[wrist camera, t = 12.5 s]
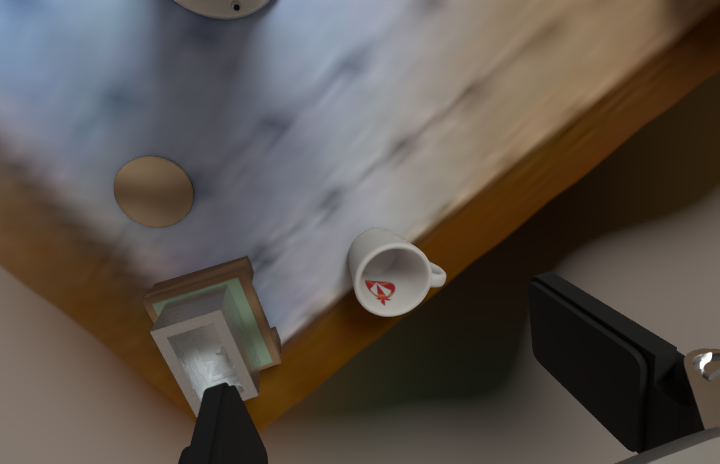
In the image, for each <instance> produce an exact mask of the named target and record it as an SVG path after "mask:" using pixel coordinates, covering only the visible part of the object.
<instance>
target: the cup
mask: <svg viewBox="0 0 720 464" xmlns="http://www.w3.org/2000/svg"><path fill="white" fill-rule="evenodd" d="M349 266H350V271H351V276H352V282H353V287H354V291H355V295H356V297H357V299H358V301H359V302H360V304H361V305H362V306H363V307H364V308H365V309H366V310H368V311H369V312H371V313H373V314H376V315H379V316H384V317H392V316H398V315H401V314H404V313H407V312H409V311H410V310H412V309H413V308H415V307H416V306H417V305H418V304H419V303H420V302H421V301H422V300H423V299H424V297H425V296H426V294H427V293H428V290H429V288H430V287H441V286H442V285H443V284H444V283H445V280H446V273H445V272H444V271H443V270H442V269H441V268H440V267H438V266H437V265H435V264H433V263H430V262H429V261H428V259H427V257H426V256H425V255H424V254H423V252H422V251H420V250H419V249H418V248H417V247H415V246H414V245H412V244H411V243H409V242H408V241H406V240H405V239H403V238H402V237H400V236H399V235H397V234H396V233H394V232H392V231H390V230H387V229H381V228H377V229H371V230H368V231H366V232H364V233H362V234H361V235H360V236H358V237H357V238H356V240H355V241H354V242H353V244H352V246H351V248H350V252H349Z"/></svg>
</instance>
